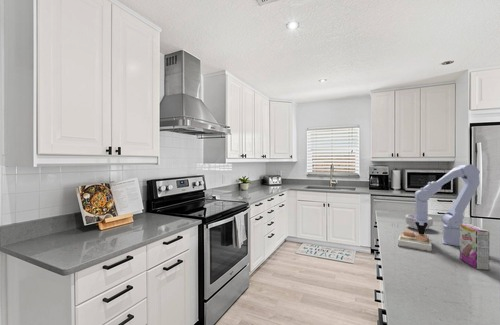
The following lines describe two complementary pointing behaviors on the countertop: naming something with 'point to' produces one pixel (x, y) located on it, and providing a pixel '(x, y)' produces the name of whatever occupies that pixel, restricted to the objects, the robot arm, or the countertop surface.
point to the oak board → (414, 238)
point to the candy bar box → (474, 246)
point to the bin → (414, 244)
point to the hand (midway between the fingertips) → (421, 235)
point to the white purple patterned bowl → (412, 224)
